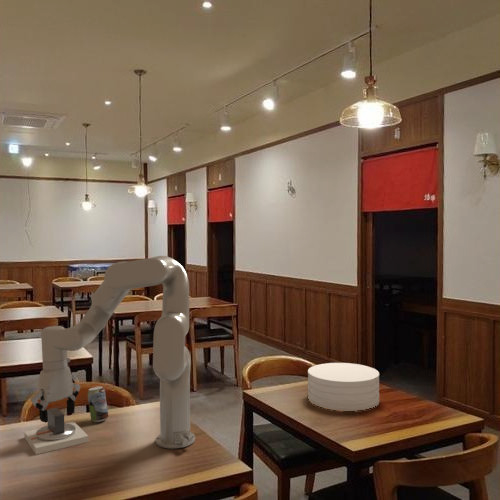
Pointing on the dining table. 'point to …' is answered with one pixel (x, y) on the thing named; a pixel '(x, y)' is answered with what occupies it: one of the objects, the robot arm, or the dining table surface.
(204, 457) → the dining table surface
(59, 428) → the dial
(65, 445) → the dial base
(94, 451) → the dining table surface
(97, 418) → the beverage can
